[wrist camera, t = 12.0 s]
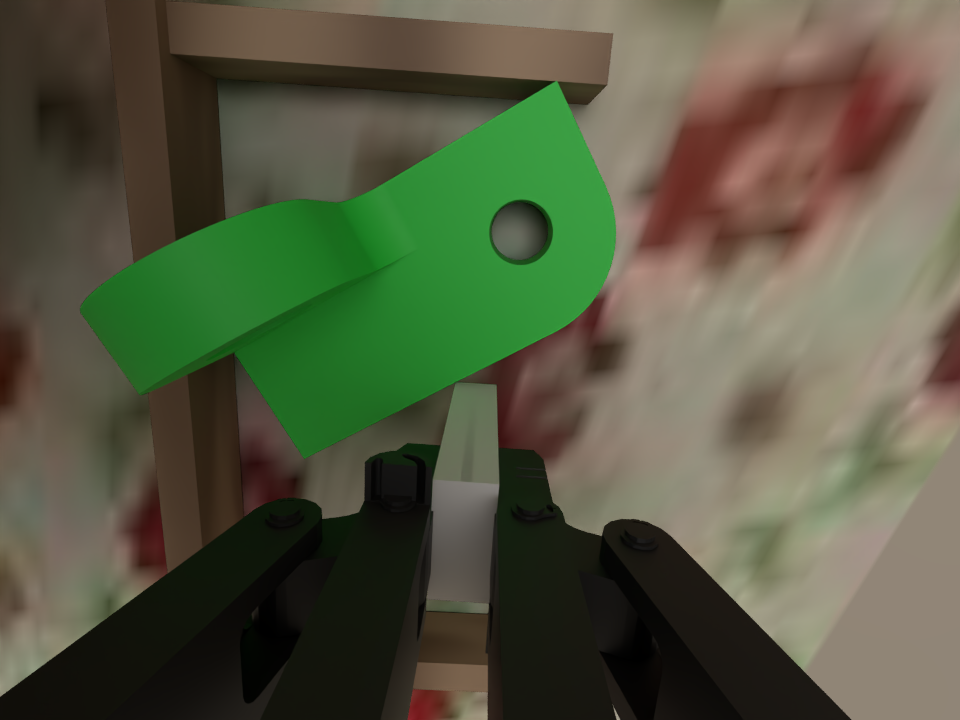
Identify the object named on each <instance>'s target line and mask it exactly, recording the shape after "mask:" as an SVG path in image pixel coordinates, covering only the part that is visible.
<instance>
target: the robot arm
mask: <svg viewBox="0 0 960 720" xmlns="http://www.w3.org/2000/svg"><path fill="white" fill-rule="evenodd" d="M427 591H428V596H427ZM426 597H427V599H431V600H445V601H460V602H475V603H489V613H488V625H487V638H486V650H485V653H486V654H488V720H616V716H615V712H614V708H615V710H616V712H617V714H618V716H619V718H620V720H851V719H850V718H849V717H848V716H847V715H846V714H845V713H844V712H843V711H842V710H841V709H840V708H839V707H838V706H837V705H836V704H835V703H834V702H833V700H832V699H831V698H830V697H829V696H828V695H826V693H825V692H824V691H823V690H822V689H821V688H820V687H819V686H817V684H816V683H815V682H814V681H813V680H812V679H811V678H810V677H809V676H808V675H807V674H806V673H805V672H804V671H803V670H802V669H801V668H800V667H799V666H798V665H797V664H796V663H795V662H794V661H793V660H792V659H791V658H790V657H789V656H788V655H787V654H786V653H785V652H784V651H783V650H782V649H781V648H780V647H779V646H778V645H777V644H776V643H775V642H774V641H773V639H772V638H771V637H770V636H769V635H768V634H767V633H766V632H765V631H764V630H763V629H762V628H761V627H760V626H759V625H758V624H757V623H756V622H755V621H754V620H753V619H752V618H751V617H750V616H749V615H748V614H747V613H746V612H745V611H744V610H743V609H742V608H741V607H740V606H739V605H738V604H737V603H736V602H735V601H734V600H733V599H732V598H731V597H730V596H729V595H728V594H727V593H726V592H725V591H724V590H723V589H722V588H721V587H720V586H719V585H718V584H717V583H716V582H715V581H714V580H713V579H712V577H711V576H710V575H709V574H708V573H707V572H706V571H705V570H704V569H703V568H702V567H701V566H700V565H699V564H698V563H697V562H696V561H695V560H694V559H693V558H692V557H691V556H690V555H689V554H688V553H687V552H686V551H685V550H684V549H683V548H682V547H681V546H680V545H679V544H678V543H677V542H676V541H675V540H674V539H673V538H672V537H671V536H670V535H669V534H667V533H666V532H665V531H663V530H662V529H661V528H659V527H656V526H654V525H652V524H650V523H648V522H645V521H640V520H636V519H620V520H615V521H611V522H610V523H608V524H607V525H605V526H604V530H603V533H602V536H599V535H595V534H591V533H587V532H584V531H581V530H578V529H576V528H574V527H572V526H570V525H568V524H566V523H565V519H564V515H563V513H562V511H561V510H560V508H559V507H558V506H557V505H556V504H554V503H553V502H552V497H551V492H550V488H549V483H548V479H547V474H546V471H545V465H544V460H543V459H542V458H541V457H540V456H539V455H538V454H537V453H536V452H535V451H534V450H522V449H507V448H498V422H497V386H496V385H493V384H478V383H463V382H456V383H455V387H454V391H453V396H452V400H451V404H450V408H449V413H448V417H447V421H446V425H445V430H444V434H443V438H442V442H441V445H426V444H412V443H407V444H406V445H404V446H403V447H401V448H400V449H398V450H397V451H389V452H383V453H379V454H377V455H374V456H372V457H370V458H369V459H368V460H367V461H366V462H365V501H364V503H363V505H362V507H361V509H360V511H359V512H358V513H355V514H352V515H349V516H343V517H336V518H328V519H322V510H321V508H320V507H319V506H318V505H317V504H316V503H314V502H312V501H309V500H306V499H297V498H288V499H286V498H283V499H278V500H276V501H272V502H269V503H266V504H264V505H262V506H260V507H258V508H256V509H255V510H253V511H252V512H251V513H249V514H248V515H246V516H245V517H244V518H242V519H241V520H240V521H238V522H237V523H236V524H234V525H233V526H232V527H230V528H229V529H227V530H226V531H225V532H223V533H222V534H221V535H219V536H218V537H217V538H215V539H214V540H213V541H211V542H210V543H208V544H207V545H206V546H204V547H203V548H202V549H200V550H199V551H198V552H196V553H195V554H194V555H192V556H191V557H189V558H188V559H187V560H185V561H184V562H183V563H181V564H180V565H179V566H177V567H176V568H175V569H173V570H172V571H170V572H169V573H168V574H166V575H165V576H164V577H162V578H161V579H160V580H158V581H157V582H155V583H154V584H153V585H151V586H150V587H149V588H147V589H146V590H145V591H143V592H142V593H141V594H139V595H138V596H136V597H135V598H134V599H132V600H131V601H130V602H128V603H127V604H126V605H124V606H123V607H122V608H120V609H119V610H117V611H116V612H115V613H113V614H112V615H111V616H109V617H108V618H107V619H105V620H104V621H103V622H101V623H100V624H98V625H97V626H96V627H94V628H93V629H92V630H90V631H89V632H88V633H86V634H85V635H84V636H82V637H81V638H79V639H78V640H77V641H75V642H74V643H73V644H71V645H70V646H69V647H67V648H66V649H65V650H63V651H62V652H60V653H59V654H58V655H56V656H55V657H54V658H52V659H51V660H50V661H48V662H47V663H46V664H44V665H43V666H41V667H40V668H39V669H37V670H36V671H35V672H33V673H32V674H31V675H29V676H28V677H26V678H25V679H24V680H22V681H21V682H20V683H18V684H17V685H16V686H14V687H13V688H12V689H10V690H9V691H7V692H6V693H5V694H3V695H2V696H1V697H0V720H407V718H408V713H409V707H410V702H411V696H412V690H413V685H414V679H415V674H416V668H417V662H418V657H419V651H420V646H421V640H422V635H423V629H424V623H425V618H426ZM612 704H613V705H612ZM613 706H614V708H613Z"/></svg>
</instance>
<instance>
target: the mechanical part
mask: <svg viewBox="0 0 960 720" xmlns="http://www.w3.org/2000/svg"><path fill="white" fill-rule="evenodd" d="M515 202H526V203H529V204H532V205H534V206H535V207H537V208H538V209H539V210H540V211H541V212H542V213H543V215H544V217H545V219H546V221H547V225H548V236H547V240H546V243H545V245H544V246H543V248H542V249H541V250H540V251H539V252H538V253H537V254H536V255H535V256H533V257H531V258H529V259H525V260H513V259H510V258H507V257H506V256H504V255H503V254H501V253H500V252H499V251H498V249H497V248H496V247H495V245H494V243H493V240H492V234H491V229H492V224H493V221H494V218H495V216H496V215H497V213H498V212H499V211H500V210H501V209H502V208H504V207H505V206H507V205H509V204H511V203H515ZM615 242H616V225H615V216H614V210H613V206H612V202H611V199H610V196H609V193H608V191H607V188H606V186H605V184H604V181H603V179H602V177H601V175H600V173H599V171H598V168H597V166H596V164H595V162H594V160H593V158H592V155H591V153H590V151H589V149H588V147H587V145H586V142H585V140H584V138H583V136H582V134H581V132H580V130H579V127H578V125H577V123H576V121H575V119H574V117H573V114H572V112H571V110H570V108H569V106H568V104H567V101H566V99H565V97H564V95H563V93H562V91H561V88H560V86H559V84H558V82H557V81H555V82H554V83H552V84H550V85H549V86H547V87H545V88H543V89H542V90H540V91H538V92H537V93H535V94H533V95H532V96H530V97H528V98H527V99H525V100H523V101H522V102H520V103H518V104H517V105H515V106H513V107H512V108H510V109H508V110H506V111H505V112H503V113H501V114H500V115H498V116H496V117H495V118H493V119H491V120H490V121H488V122H486V123H485V124H483V125H481V126H480V127H478V128H476V129H475V130H473V131H471V132H469V133H468V134H466V135H464V136H463V137H461V138H459V139H458V140H456V141H454V142H453V143H451V144H449V145H448V146H446V147H444V148H443V149H441V150H439V151H438V152H436V153H434V154H432V155H431V156H429V157H427V158H426V159H424V160H422V161H421V162H419V163H417V164H416V165H414V166H412V167H411V168H409V169H407V170H406V171H404V172H402V173H401V174H399V175H397V176H395V177H394V178H392V179H390V180H389V181H387V182H385V183H384V184H382V185H380V186H378V187H377V188H375V189H373V190H371V191H369V192H367V193H365V194H363V195H360V196H358V197H355V198H353V199H350V200H347V201H344V202H339V203H335V202H325V201H316V200H306V199H299V200H290V201H284V202H280V203H275V204H271V205H268V206H264V207H261V208H257V209H254V210H251V211H248V212H245V213H242V214H239V215H236V216H234V217H231V218H228V219H226V220H223V221H221V222H218V223H216V224H213V225H211V226H208V227H206V228H204V229H201V230H199V231H197V232H194V233H192V234H190V235H188V236H186V237H184V238H181V239H179V240H177V241H175V242H173V243H171V244H169V245H167V246H165V247H163V248H161V249H159V250H157V251H155V252H153V253H151V254H150V255H148V256H146V257H144V258H142V259H141V260H139V261H137V262H135V263H134V264H132V265H130V266H129V267H127V268H125V269H124V270H122V271H121V272H119V273H118V274H116V275H114V276H113V277H112V278H110V279H109V280H107V281H106V282H105V283H103V284H102V285H101V286H99V287H98V288H97V289H96V290H95V291H93V292H92V293H91V294H90V295H89V296H88V297H87V298H86V300H85V301H84V302H83V304H82V305H81V308H80V313H81V314H82V315H83V317H84V318H85V320H86V321H87V322H88V324H89V325H90V327H91V328H92V329H93V331H94V332H95V334H96V335H97V336H98V338H99V339H100V341H101V342H102V343H103V345H104V346H105V348H106V349H107V350H108V352H109V353H110V355H111V356H112V357H113V359H114V360H115V362H116V363H117V364H118V366H119V367H120V369H121V370H122V371H123V373H124V374H125V375H126V377H127V378H128V380H129V381H130V382H131V384H132V385H133V387H134V388H135V389H136V391H137V392H138V394H139V395H143V394H146V393H148V392H151V391H153V390H155V389H158V388H160V387H162V386H164V385H166V384H168V383H171V382H173V381H175V380H177V379H179V378H181V377H183V376H185V375H187V374H189V373H192V372H194V371H196V370H198V369H200V368H202V367H204V366H206V365H208V364H211V363H213V362H215V361H217V360H219V359H221V358H223V357H225V356H227V355H229V354H232V353H235V355H236V356H237V358H238V359H239V361H240V363H241V364H242V366H243V367H244V369H245V370H246V372H247V373H248V375H249V376H250V378H251V379H252V381H253V382H254V384H255V385H256V387H257V388H258V390H259V391H260V393H261V394H262V396H263V397H264V399H265V400H266V402H267V403H268V405H269V406H270V408H271V409H272V411H273V412H274V414H275V415H276V417H277V418H278V420H279V421H280V423H281V425H282V426H283V428H284V429H285V431H286V432H287V434H288V435H289V437H290V438H291V440H292V441H293V443H294V444H295V446H296V447H297V449H298V450H299V452H300V453H301V455H302V456H303V458H304V459H305V458H307V457H309V456H311V455H313V454H315V453H317V452H319V451H321V450H323V449H325V448H327V447H329V446H331V445H333V444H335V443H337V442H339V441H341V440H343V439H345V438H346V437H348V436H350V435H352V434H354V433H356V432H358V431H360V430H362V429H364V428H366V427H368V426H370V425H372V424H374V423H376V422H378V421H380V420H382V419H384V418H386V417H388V416H390V415H392V414H394V413H396V412H398V411H400V410H402V409H404V408H406V407H408V406H410V405H412V404H414V403H416V402H418V401H420V400H422V399H424V398H426V397H428V396H430V395H432V394H434V393H435V392H437V391H439V390H441V389H443V388H445V387H447V386H449V385H451V384H453V383H455V382H457V381H459V380H461V379H463V378H465V377H467V376H469V375H471V374H473V373H475V372H477V371H479V370H481V369H483V368H485V367H487V366H489V365H491V364H493V363H495V362H497V361H499V360H501V359H503V358H505V357H507V356H509V355H511V354H513V353H515V352H517V351H519V350H521V349H523V348H525V347H526V346H528V345H530V344H532V343H534V342H536V341H538V340H540V339H542V338H544V337H546V336H548V335H550V334H552V333H554V332H556V331H558V330H560V329H561V328H563V327H565V326H566V325H568V324H569V323H571V322H572V321H573V320H575V319H576V318H577V317H578V316H579V315H580V314H581V313H582V312H583V311H584V310H585V309H586V308H587V307H588V306H589V305H590V304H591V302H592V301H593V300H594V298H595V297H596V296H597V294H598V292H599V291H600V289H601V288H602V286H603V284H604V282H605V280H606V278H607V275H608V272H609V270H610V267H611V264H612V260H613V256H614V250H615Z"/></svg>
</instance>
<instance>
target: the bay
mask: <svg viewBox="0 0 960 720" xmlns="http://www.w3.org/2000/svg"><path fill="white" fill-rule="evenodd" d="M105 2H106V11H107V20H108V29H109V39H110V48H111V57H112V66H113V76H114V85H115V94H116V103H117V112H118V122H119V131H120V140H121V149H122V158H123V168H124V177H125V186H126V195H127V204H128V214H129V223H130V232H131V241H132V250H133V260H134V263H135V262H137V261H139V260H141V259H142V258H144V257H146V256H148V255H150V254H151V253H153V252H155V251H157V250H159V249H161V248H163V247H165V246H167V245H169V244H171V243H173V242H175V241H177V240H179V239H181V238H184V237H186V236H188V235H190V234H192V233H194V232H197V231H199V230H201V229H204V228H206V227H208V226H211V225H213V224H216V223H218V222H221V221H223V220H225V210H224V194H223V178H222V162H221V146H220V130H219V114H218V98H217V81H216V78H219V79H233V80H248V81H262V82H276V83H290V84H304V85H319V86H333V87H347V88H361V89H375V90H389V91H404V92H418V93H432V94H446V95H460V96H474V97H489V98H503V99H517V100H525V99H527V98H528V97H530V96H532V95H533V94H535V93H537V92H538V91H540V90H542V89H543V88H545V87H547V86H549V85H550V84H552V83H554V82H555V81H557V82H558V84H559V86H560V88H561V91H562V93H563V95H564V97H565V99H566V101H567V103H574V104H589V103H590V102H591V101H592V100H593V99H594V98H595V97H596V96H597V95H598V94H599V93H600V92H601V91H602V90H603V89H604V88H605V87H606V86H607V83H608V74H609V65H610V57H611V48H612V39H613V34H612V33H598V32H584V31H571V30H557V29H544V28H530V27H517V26H503V25H490V24H476V23H462V22H449V21H435V20H422V19H408V18H395V17H381V16H368V15H354V14H341V13H327V12H313V11H300V10H286V9H273V8H259V7H246V6H232V5H219V4H205V3H191V2H178V1H166V0H105ZM148 398H149V407H150V416H151V425H152V435H153V444H154V453H155V462H156V472H157V481H158V490H159V499H160V508H161V518H162V527H163V536H164V545H165V554H166V564H167V573H169V572H170V571H172V570H173V569H175V568H176V567H177V566H179V565H180V564H181V563H183V562H184V561H185V560H187V559H188V558H189V557H191V556H192V555H194V554H195V553H196V552H198V551H199V550H200V549H202V548H203V547H204V546H206V545H207V544H208V543H210V542H211V541H213V540H214V539H215V538H217V537H218V536H219V535H221V534H222V533H223V532H225V531H226V530H227V529H229V528H230V527H232V526H233V525H234V524H236V523H237V522H238V521H240V520H241V519H242V518H244V515H243V499H242V483H241V467H240V451H239V435H238V419H237V403H236V387H235V370H234V354H233V353H232V354H229V355H227V356H225V357H223V358H221V359H219V360H217V361H215V362H213V363H211V364H208V365H206V366H204V367H202V368H200V369H198V370H196V371H194V372H192V373H189V374H187V375H185V376H183V377H181V378H179V379H177V380H175V381H173V382H171V383H168V384H166V385H164V386H162V387H160V388H158V389H155V390H153V391H151V392H148ZM487 625H488V614H467V613H446V612H426V618H425V623H424V629H423V635H422V640H421V646H420V651H419V657H418V662H417V668H416V674H415V679H414V685H413V689H424V690H447V691H470V692H488V654H486V653H485V650H486V638H487Z"/></svg>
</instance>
